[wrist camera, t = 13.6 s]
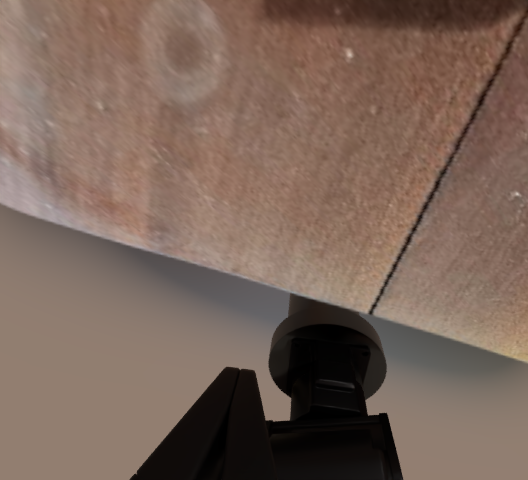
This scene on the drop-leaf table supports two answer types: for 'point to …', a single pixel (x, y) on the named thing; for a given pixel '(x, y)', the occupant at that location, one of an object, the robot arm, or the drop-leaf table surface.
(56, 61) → the drop-leaf table surface
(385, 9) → the drop-leaf table surface
